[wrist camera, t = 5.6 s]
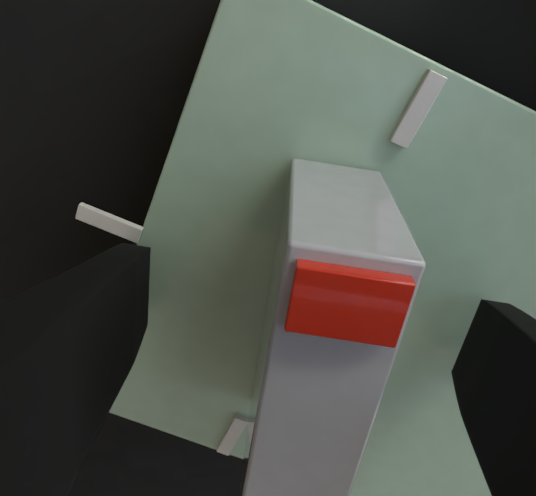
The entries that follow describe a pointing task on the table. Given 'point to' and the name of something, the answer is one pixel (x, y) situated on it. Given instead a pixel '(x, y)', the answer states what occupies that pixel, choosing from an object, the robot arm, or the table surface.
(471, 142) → the block
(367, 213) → the tap handle
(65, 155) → the table surface
